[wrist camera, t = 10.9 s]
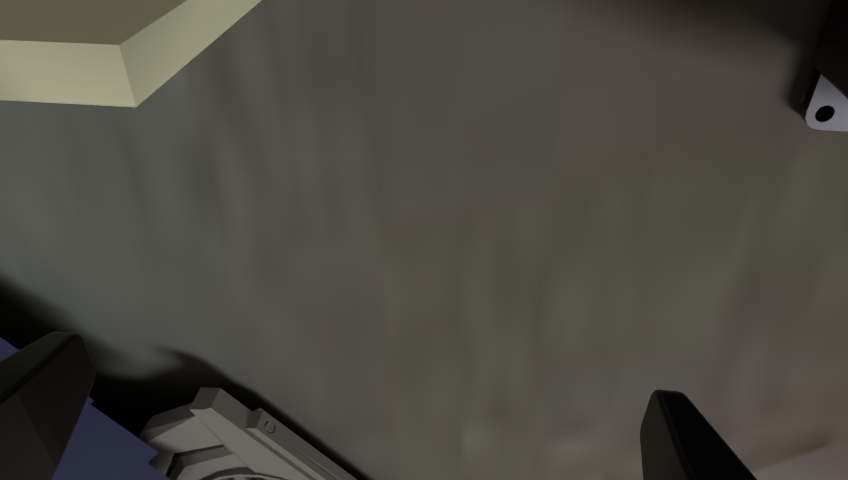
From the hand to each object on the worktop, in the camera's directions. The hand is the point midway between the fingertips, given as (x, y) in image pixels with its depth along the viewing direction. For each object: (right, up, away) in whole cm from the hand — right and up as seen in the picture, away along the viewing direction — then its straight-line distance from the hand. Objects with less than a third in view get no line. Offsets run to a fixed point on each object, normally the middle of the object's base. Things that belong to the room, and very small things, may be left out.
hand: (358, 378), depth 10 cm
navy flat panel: (-26, -5, +22) cm, 34 cm away
